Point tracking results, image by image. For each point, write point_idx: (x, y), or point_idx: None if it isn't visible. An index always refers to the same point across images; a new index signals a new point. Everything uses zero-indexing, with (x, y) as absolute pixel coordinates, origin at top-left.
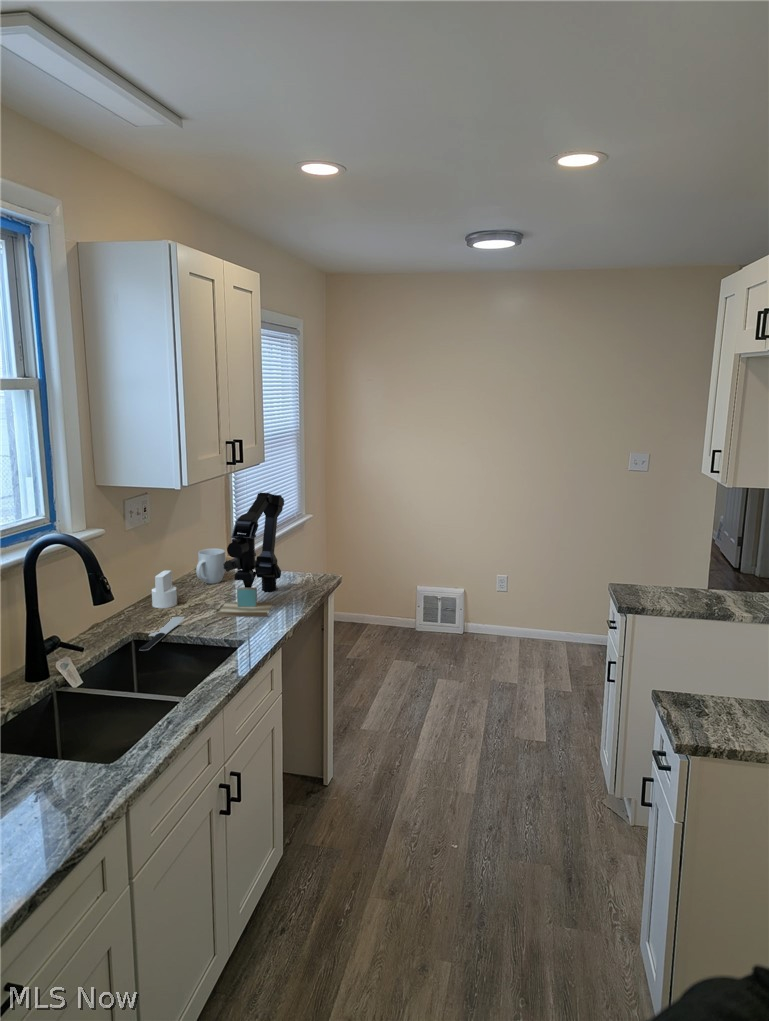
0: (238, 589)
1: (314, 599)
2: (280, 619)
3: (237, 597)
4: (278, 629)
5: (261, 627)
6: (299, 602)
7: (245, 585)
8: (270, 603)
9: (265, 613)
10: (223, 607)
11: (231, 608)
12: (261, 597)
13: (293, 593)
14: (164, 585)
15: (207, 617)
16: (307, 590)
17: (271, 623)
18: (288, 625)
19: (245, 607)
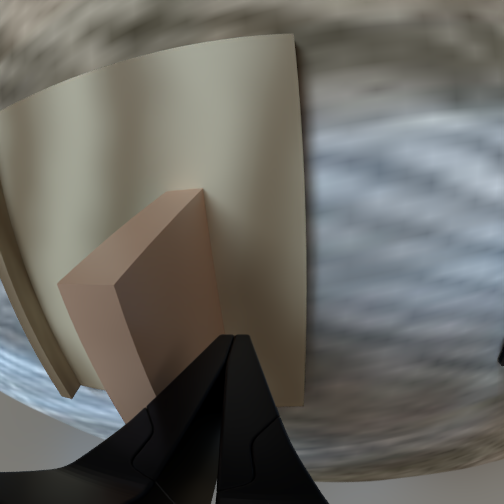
0: (65, 300)
1: (369, 479)
2: (100, 412)
3: (126, 226)
4: (26, 394)
5: (8, 350)
6: (338, 459)
7: (158, 411)
8: (281, 397)
9: (60, 389)
10: (130, 70)
11: (116, 152)
12: (472, 301)
13: (475, 416)
14: None
15: (10, 49)
16: (486, 438)
17: (51, 383)
18: (66, 421)
19: None
